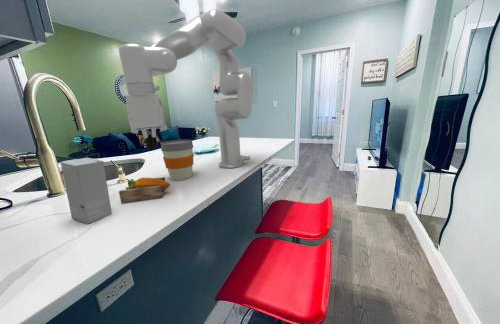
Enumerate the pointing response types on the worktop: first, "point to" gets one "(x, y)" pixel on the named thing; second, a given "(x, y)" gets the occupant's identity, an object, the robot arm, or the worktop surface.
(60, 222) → the worktop surface
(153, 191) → the walnut U-rest
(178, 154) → the reusable coffee cup
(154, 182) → the carrot
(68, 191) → the skincare box
